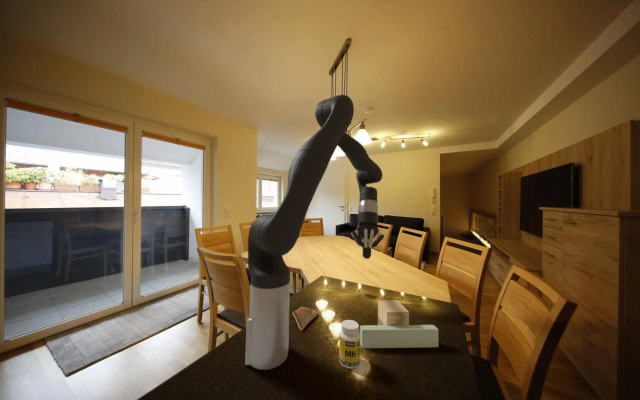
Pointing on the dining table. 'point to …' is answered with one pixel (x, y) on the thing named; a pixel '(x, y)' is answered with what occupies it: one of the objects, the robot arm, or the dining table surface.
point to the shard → (304, 316)
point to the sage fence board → (398, 336)
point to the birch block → (392, 313)
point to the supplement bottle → (349, 344)
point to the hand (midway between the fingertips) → (366, 258)
